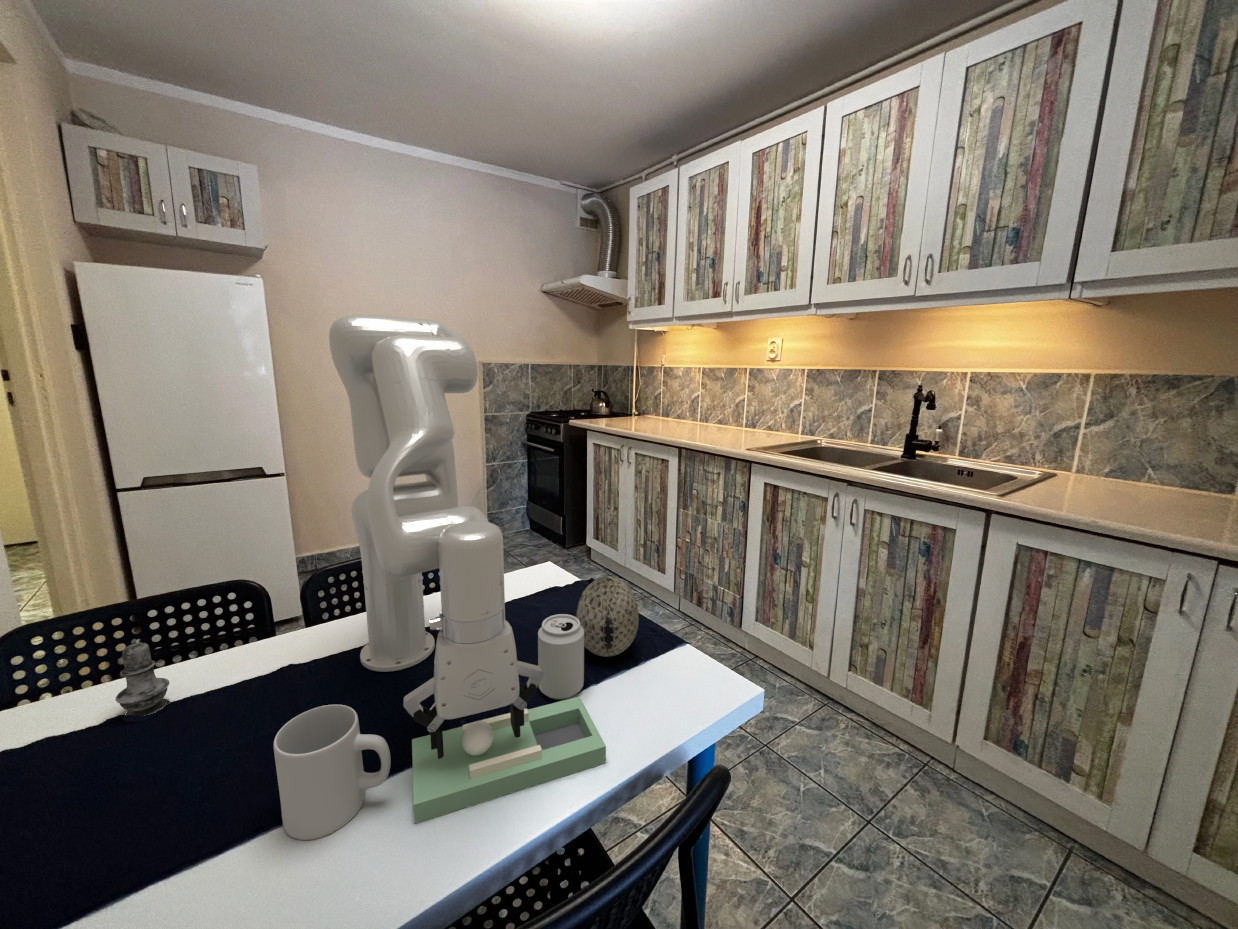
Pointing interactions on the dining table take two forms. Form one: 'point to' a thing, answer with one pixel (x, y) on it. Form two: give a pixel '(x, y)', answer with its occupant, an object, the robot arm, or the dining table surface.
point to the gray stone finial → (141, 682)
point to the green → (504, 758)
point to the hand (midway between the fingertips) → (478, 740)
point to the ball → (477, 738)
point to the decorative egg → (608, 616)
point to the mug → (324, 770)
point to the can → (561, 656)
